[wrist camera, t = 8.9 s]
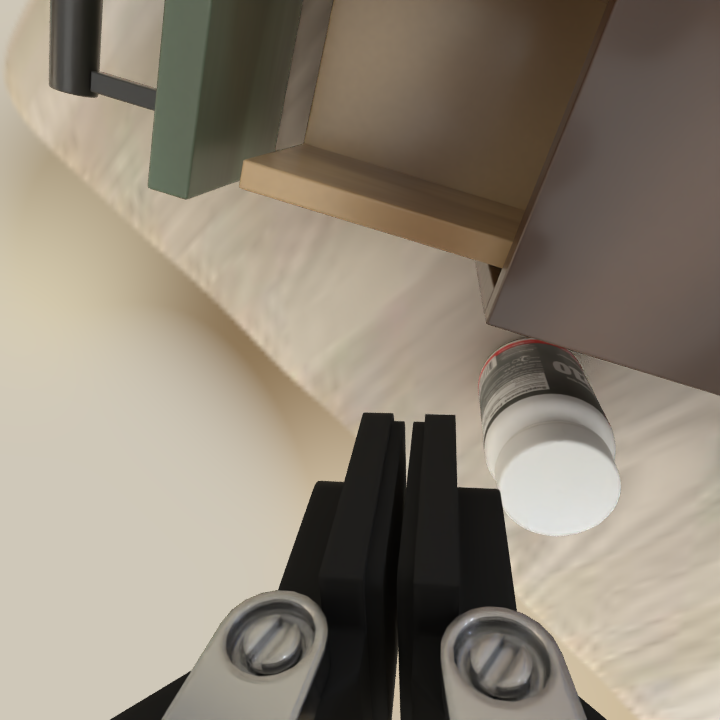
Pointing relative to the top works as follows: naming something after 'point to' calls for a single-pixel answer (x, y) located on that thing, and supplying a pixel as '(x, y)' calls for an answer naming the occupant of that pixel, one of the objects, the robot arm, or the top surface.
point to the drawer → (356, 106)
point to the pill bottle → (547, 439)
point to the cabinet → (628, 203)
